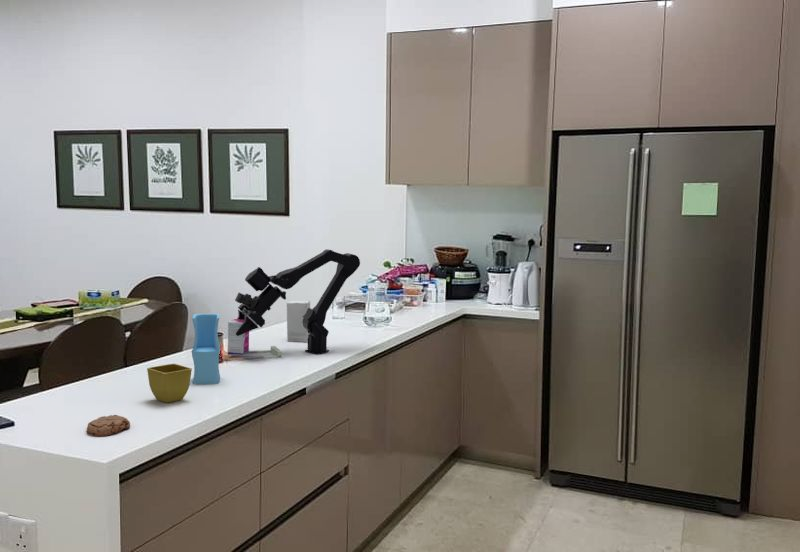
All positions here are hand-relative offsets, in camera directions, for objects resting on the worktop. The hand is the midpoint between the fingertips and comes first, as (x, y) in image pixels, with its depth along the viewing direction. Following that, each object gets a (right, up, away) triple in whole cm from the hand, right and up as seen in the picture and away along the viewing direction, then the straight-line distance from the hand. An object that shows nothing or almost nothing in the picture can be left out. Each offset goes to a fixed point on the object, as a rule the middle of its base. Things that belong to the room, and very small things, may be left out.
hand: (234, 332), depth 255 cm
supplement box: (+1, -7, +1) cm, 7 cm away
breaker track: (+5, -8, +3) cm, 10 cm away
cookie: (-13, -18, -78) cm, 81 cm away
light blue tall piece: (-1, -12, -31) cm, 34 cm away
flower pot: (-6, -15, -53) cm, 55 cm away
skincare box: (+18, -6, +32) cm, 37 cm away
